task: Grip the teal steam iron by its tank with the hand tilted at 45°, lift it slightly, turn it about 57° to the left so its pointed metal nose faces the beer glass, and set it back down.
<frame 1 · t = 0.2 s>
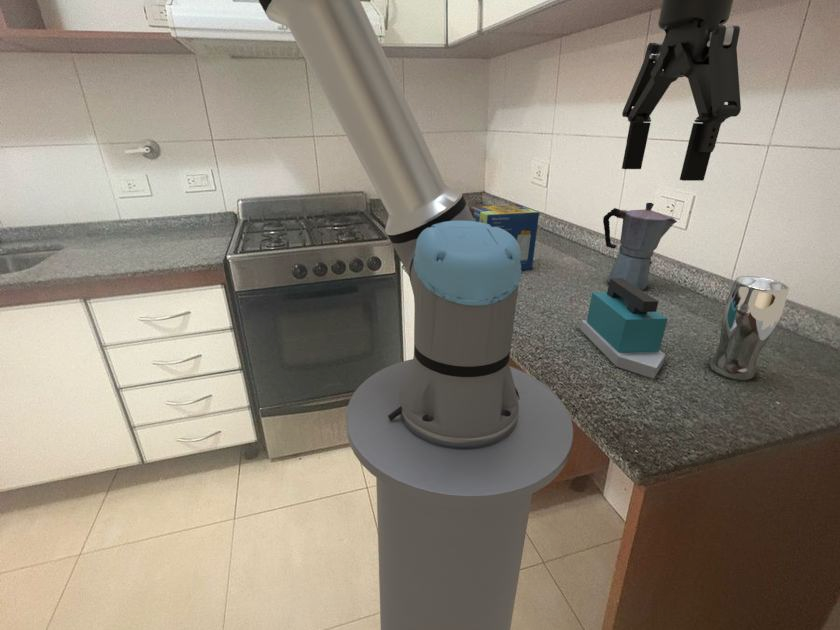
hand: (658, 174, 61), 30 cm above the worktop, tool pointing down, fingers open, 13 cm apart
beer glass: (730, 371, 71), on the worktop
protein box: (498, 267, 120), on the worktop
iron: (642, 369, 71), on the worktop
moka pot: (624, 285, 108), on the worktop
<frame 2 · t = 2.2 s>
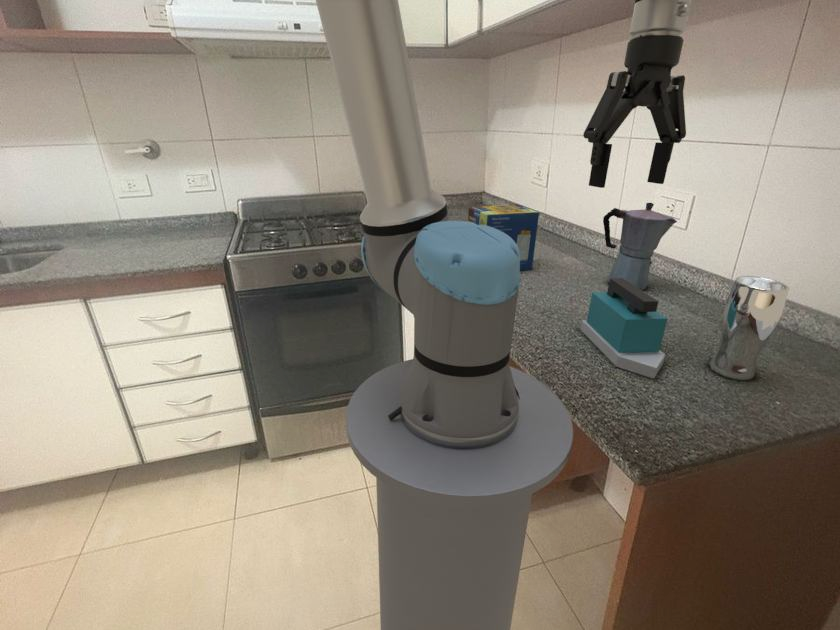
hand: (626, 184, 74), 27 cm above the worktop, tool pointing down, fingers open, 13 cm apart
nothing on the worktop moved.
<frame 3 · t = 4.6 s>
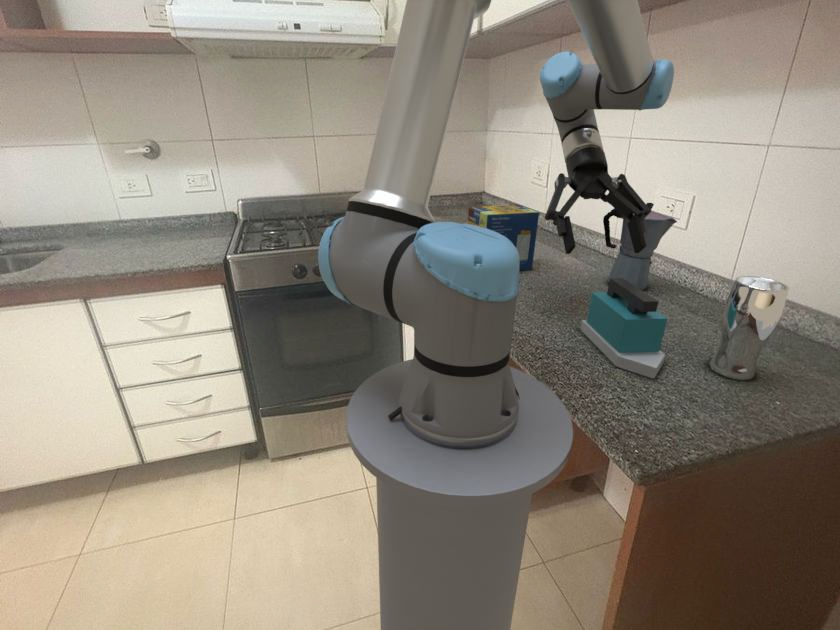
hand: (606, 250, 82), 15 cm above the worktop, tool tilted 45°, fingers open, 13 cm apart
nothing on the worktop moved.
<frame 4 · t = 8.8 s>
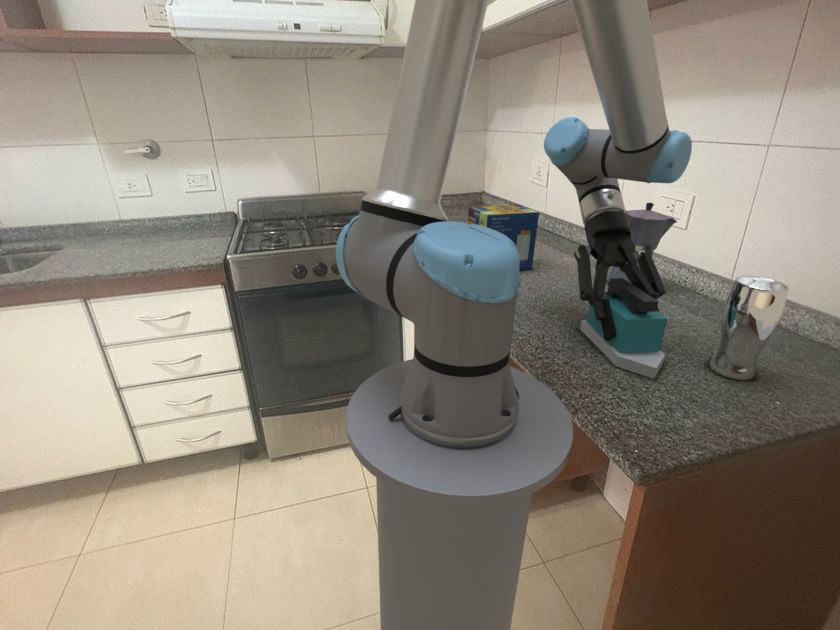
hand: (632, 337, 74), 4 cm above the worktop, tool tilted 45°, fingers closed on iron, 7 cm apart
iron: (642, 369, 71), on the worktop, touching gripper
everything else where it was.
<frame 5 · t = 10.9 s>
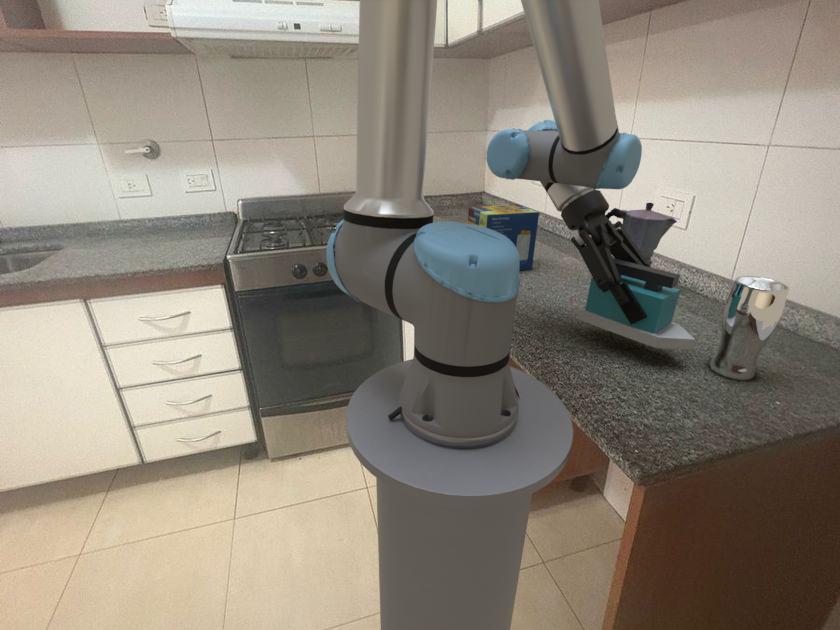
hand: (649, 314, 73), 7 cm above the worktop, tool tilted 45°, fingers closed on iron, 7 cm apart
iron: (672, 343, 72), point 4 cm above the worktop, touching gripper
everything else where it was.
when the fingers open (4 cm above the worktop, at t = 13.4 s): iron stays where it is, on the worktop.
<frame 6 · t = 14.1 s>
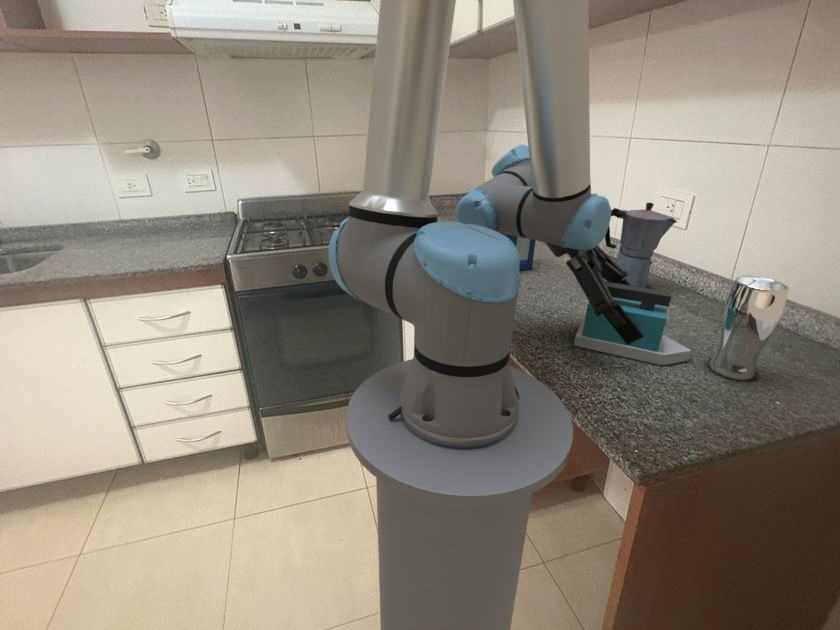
hand: (638, 324, 75), 5 cm above the worktop, tool tilted 45°, fingers open, 13 cm apart
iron: (668, 356, 75), on the worktop
everything else where it was.
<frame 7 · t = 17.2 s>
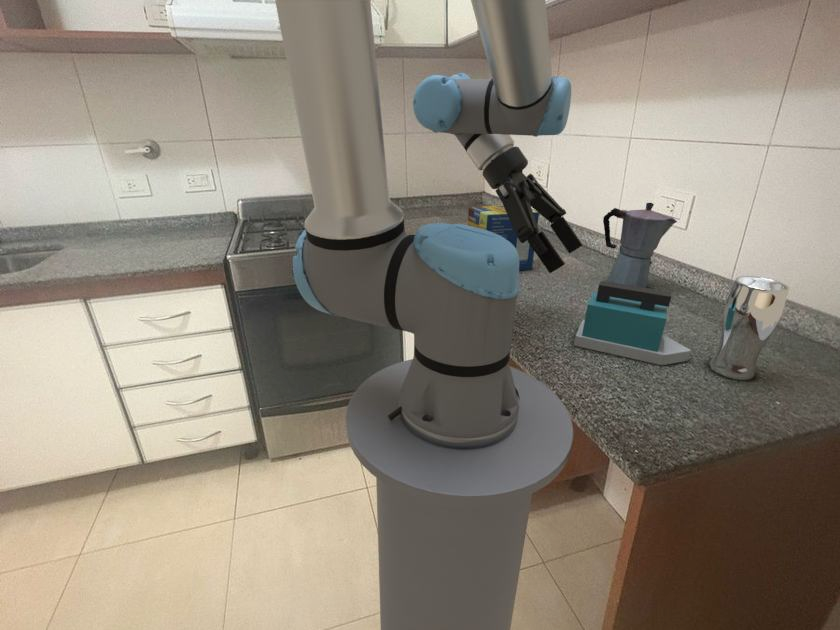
hand: (567, 258, 77), 14 cm above the worktop, tool tilted 40°, fingers open, 13 cm apart
nothing on the worktop moved.
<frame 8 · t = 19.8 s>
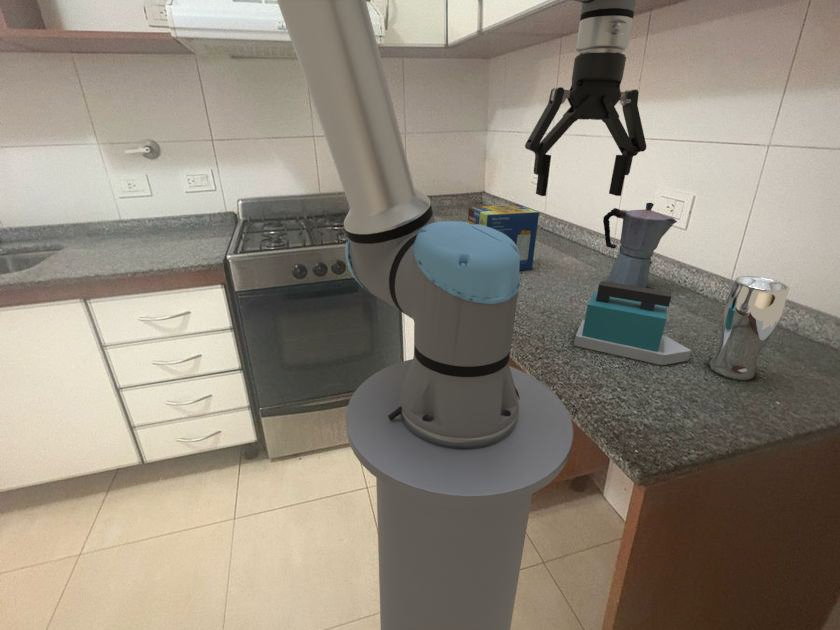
hand: (578, 195, 76), 25 cm above the worktop, tool pointing down, fingers open, 13 cm apart
nothing on the worktop moved.
at the end: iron 0.1 cm from the target spot, on the worktop; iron tilted 0°; the gripper is holding nothing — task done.
